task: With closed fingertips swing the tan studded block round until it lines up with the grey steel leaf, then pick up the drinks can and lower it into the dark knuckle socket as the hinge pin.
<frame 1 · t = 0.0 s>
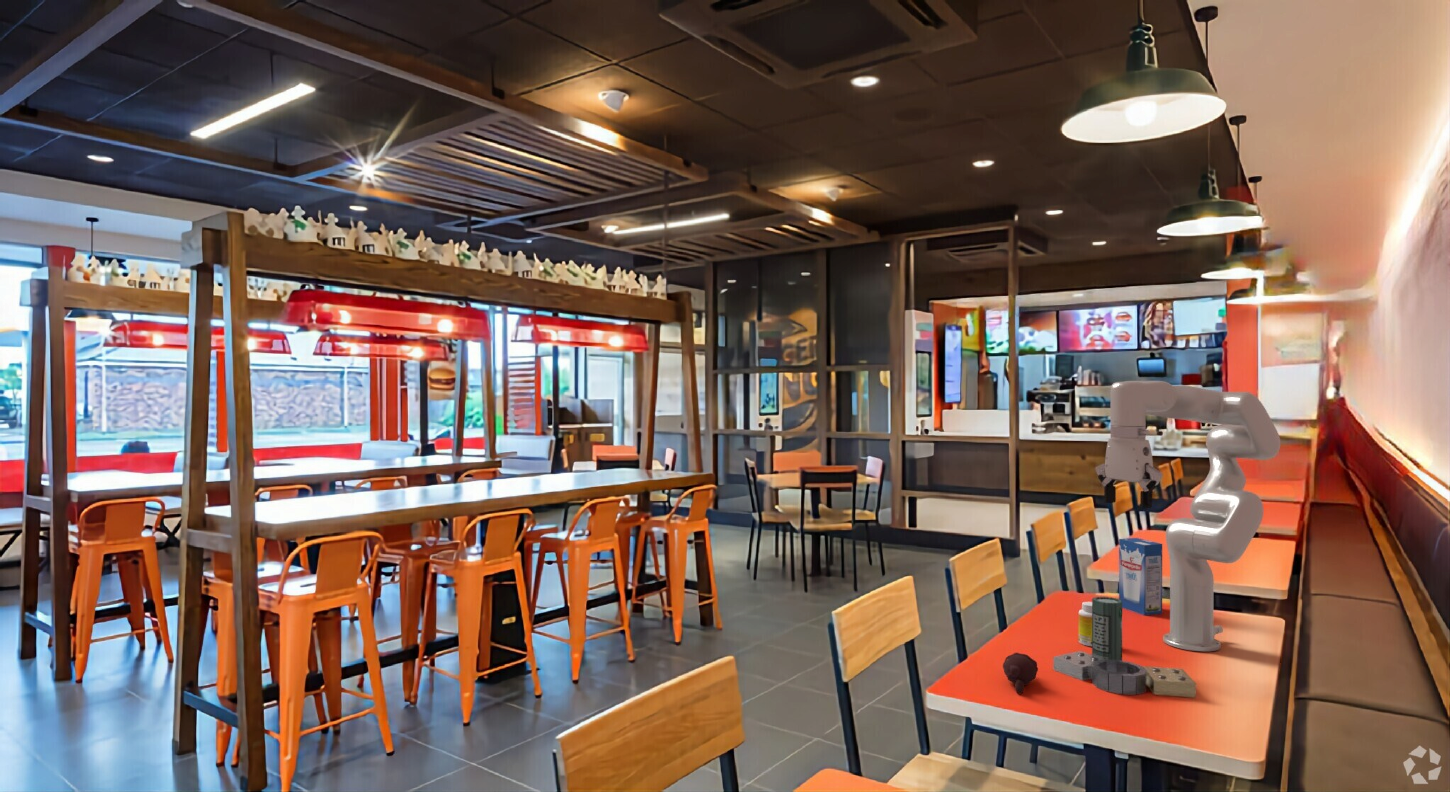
hand: (1127, 505, 197), 37 cm above the table, tool pointing down, fingers open, 9 cm apart
can: (1107, 664, 194), on the table
supplement bottle: (1090, 644, 209), on the table
leaf fixed: (1119, 685, 180), on the table
tan studded block: (1168, 680, 178), point 2 cm above the table, hinge at 50.0°
milk carton: (1140, 610, 240), on the table
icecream: (1019, 684, 182), on the table
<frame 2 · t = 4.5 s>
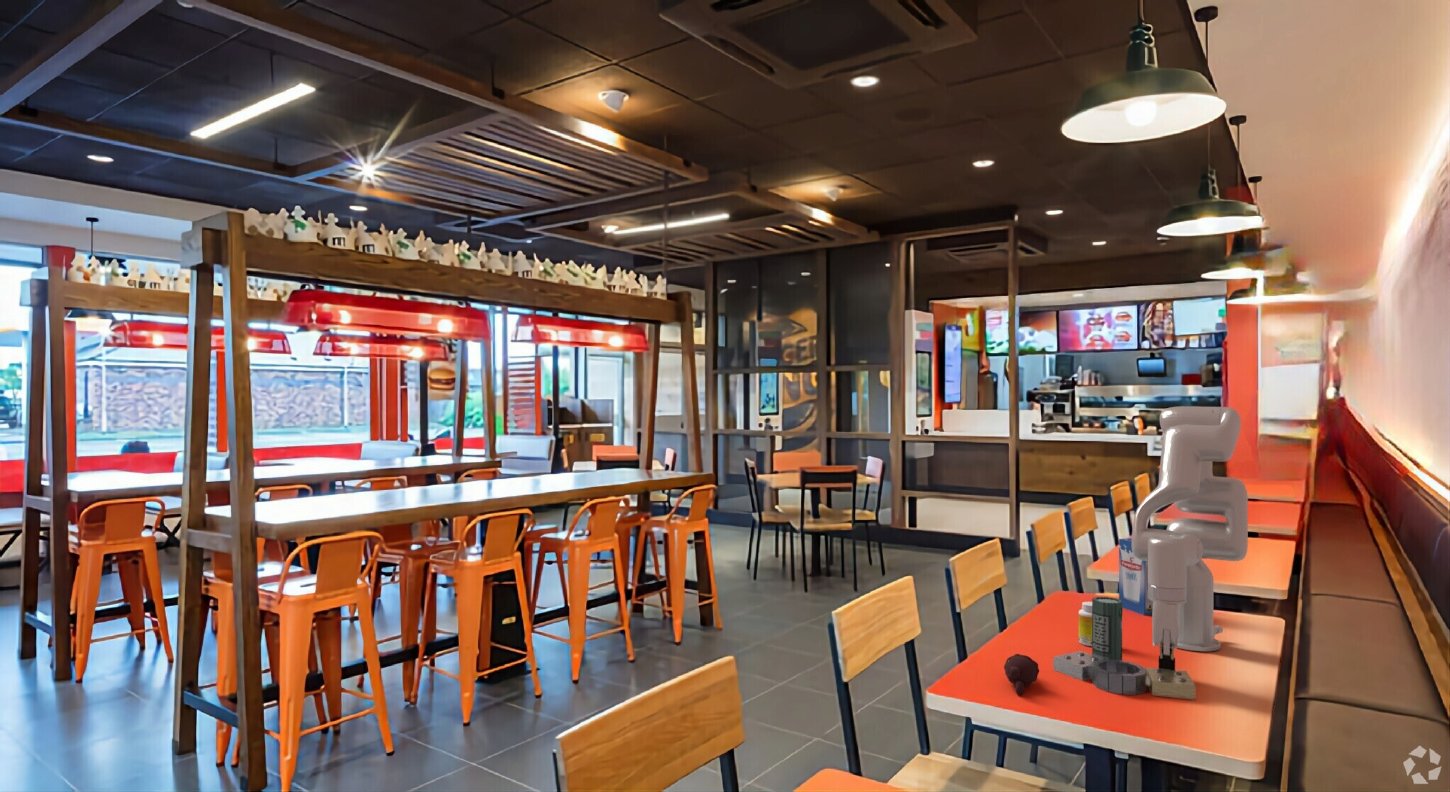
hand: (1166, 675, 183), 1 cm above the table, tool pointing down, fingers closed
tan studded block: (1169, 682, 177), point 2 cm above the table, hinge at 44.5°, touching gripper
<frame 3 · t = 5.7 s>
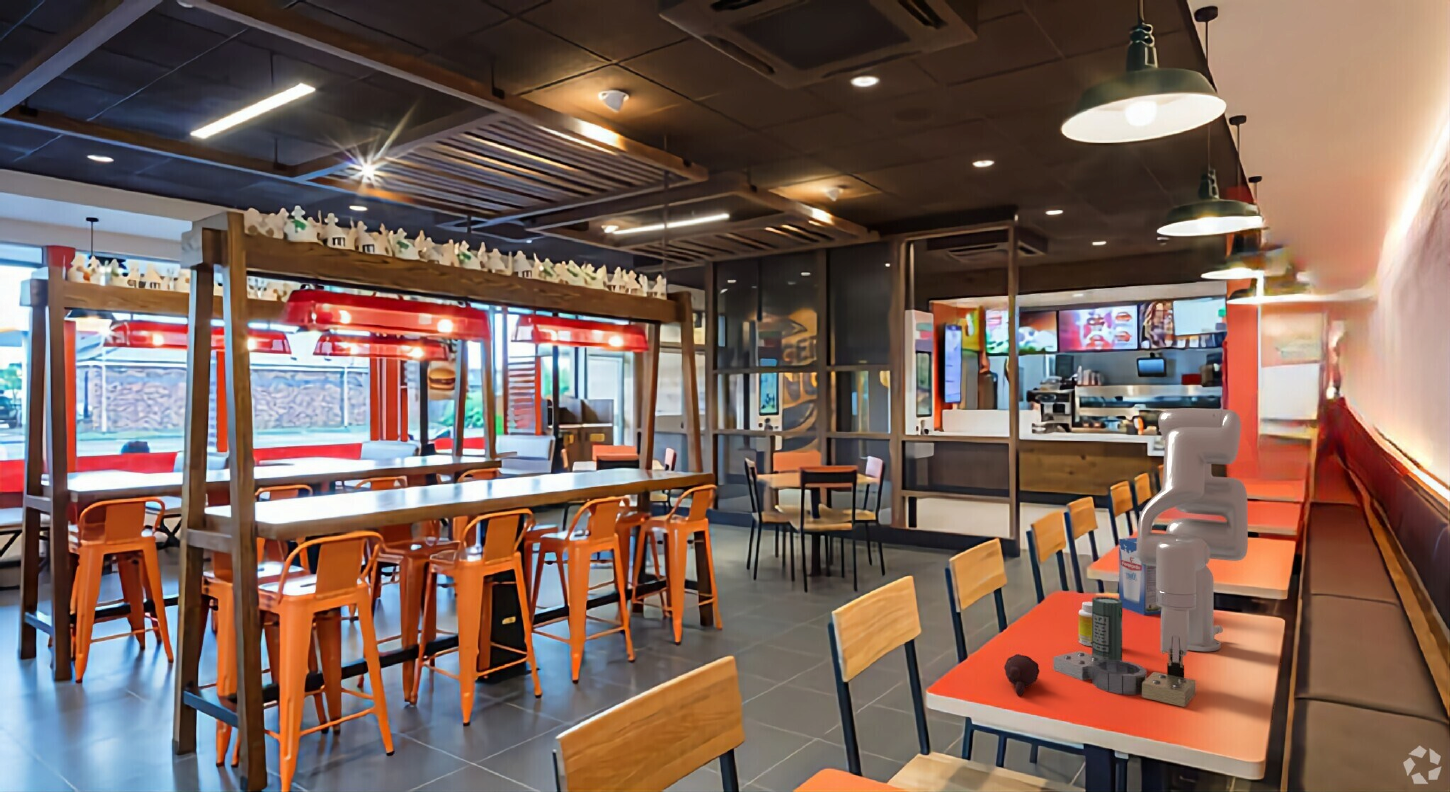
hand: (1175, 683, 179), 1 cm above the table, tool pointing down, fingers closed
tan studded block: (1168, 688, 174), point 2 cm above the table, hinge at 21.7°, touching gripper
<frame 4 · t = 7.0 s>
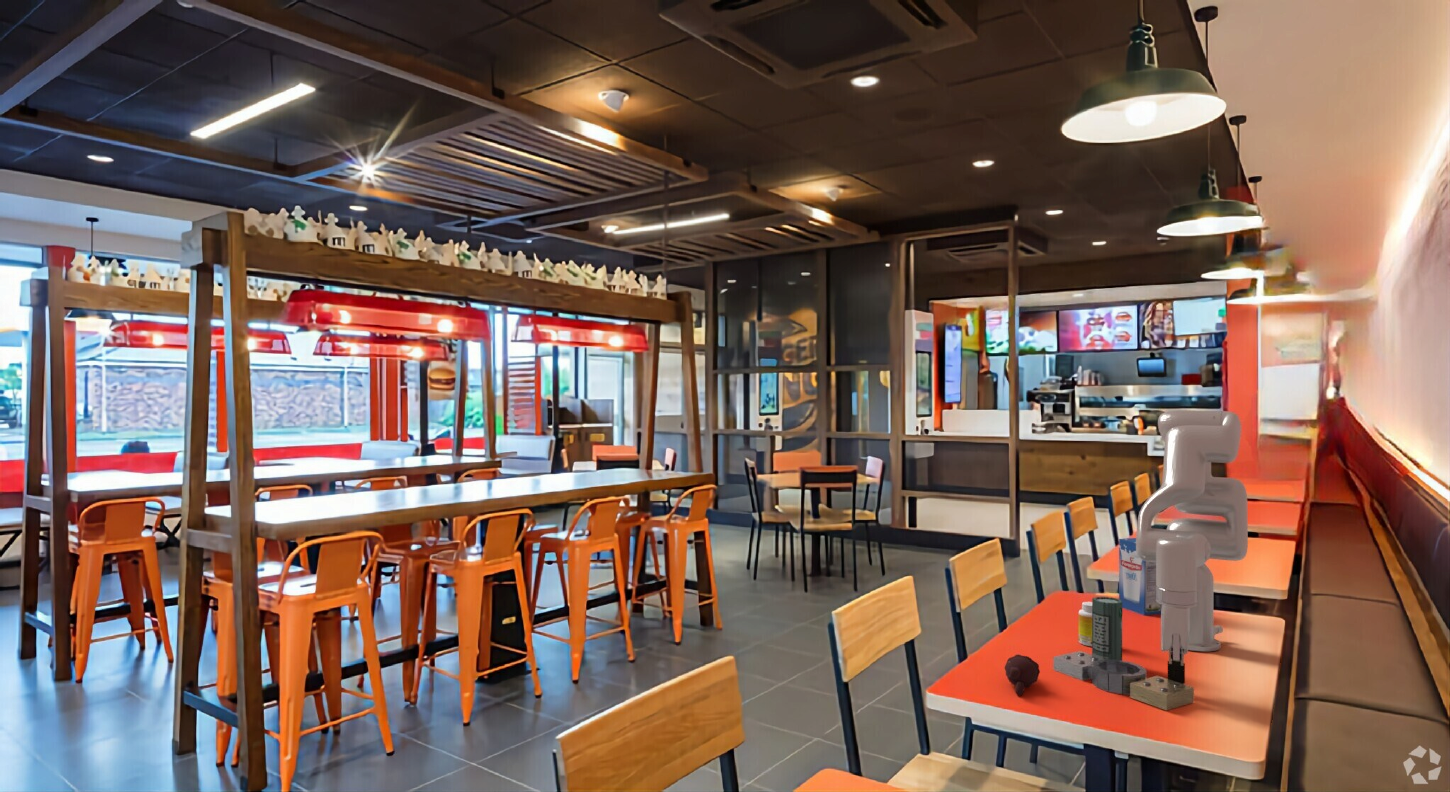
hand: (1176, 681, 176), 2 cm above the table, tool pointing down, fingers closed
tan studded block: (1161, 691, 172), point 2 cm above the table, hinge at 2.1°
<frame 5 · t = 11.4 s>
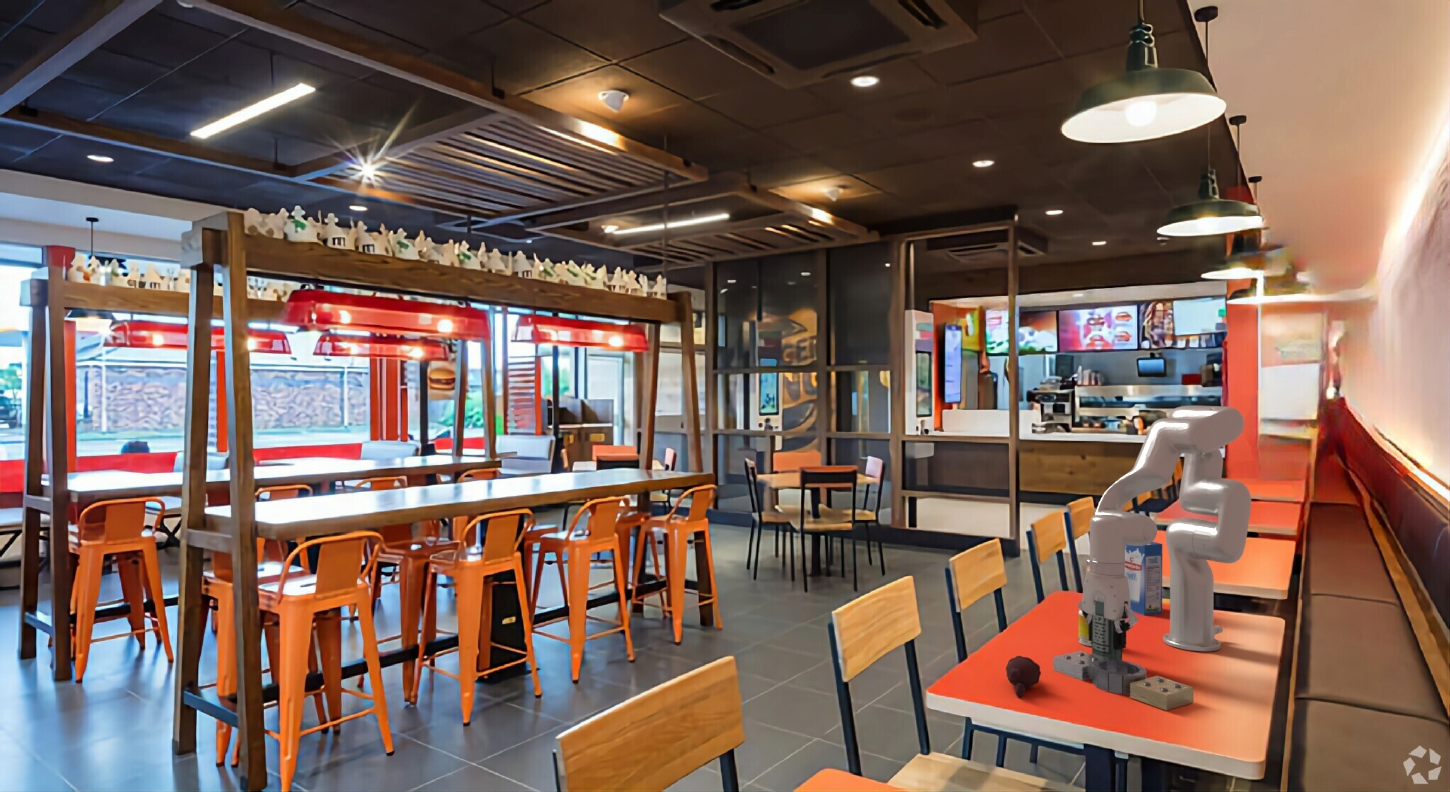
hand: (1107, 643, 194), 5 cm above the table, tool pointing down, fingers closed on can, 6 cm apart
can: (1107, 664, 194), on the table, touching gripper
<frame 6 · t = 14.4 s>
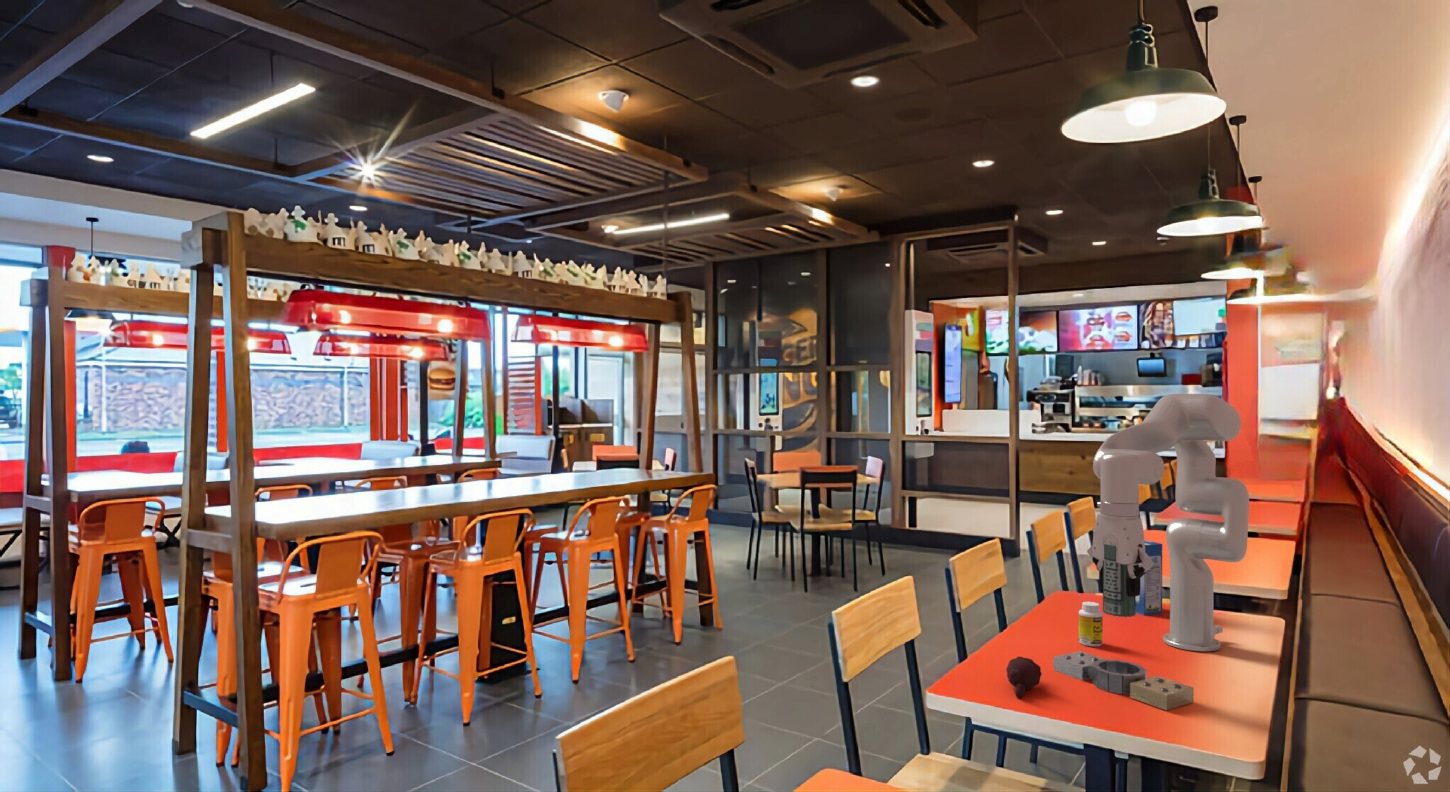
hand: (1119, 591, 180), 21 cm above the table, tool pointing down, fingers closed on can, 6 cm apart
can: (1119, 613, 180), point 16 cm above the table, touching gripper
when the fingers open (6 cm above the table, at t = 17.3 s): can drops 2 cm, resting in leaf fixed.
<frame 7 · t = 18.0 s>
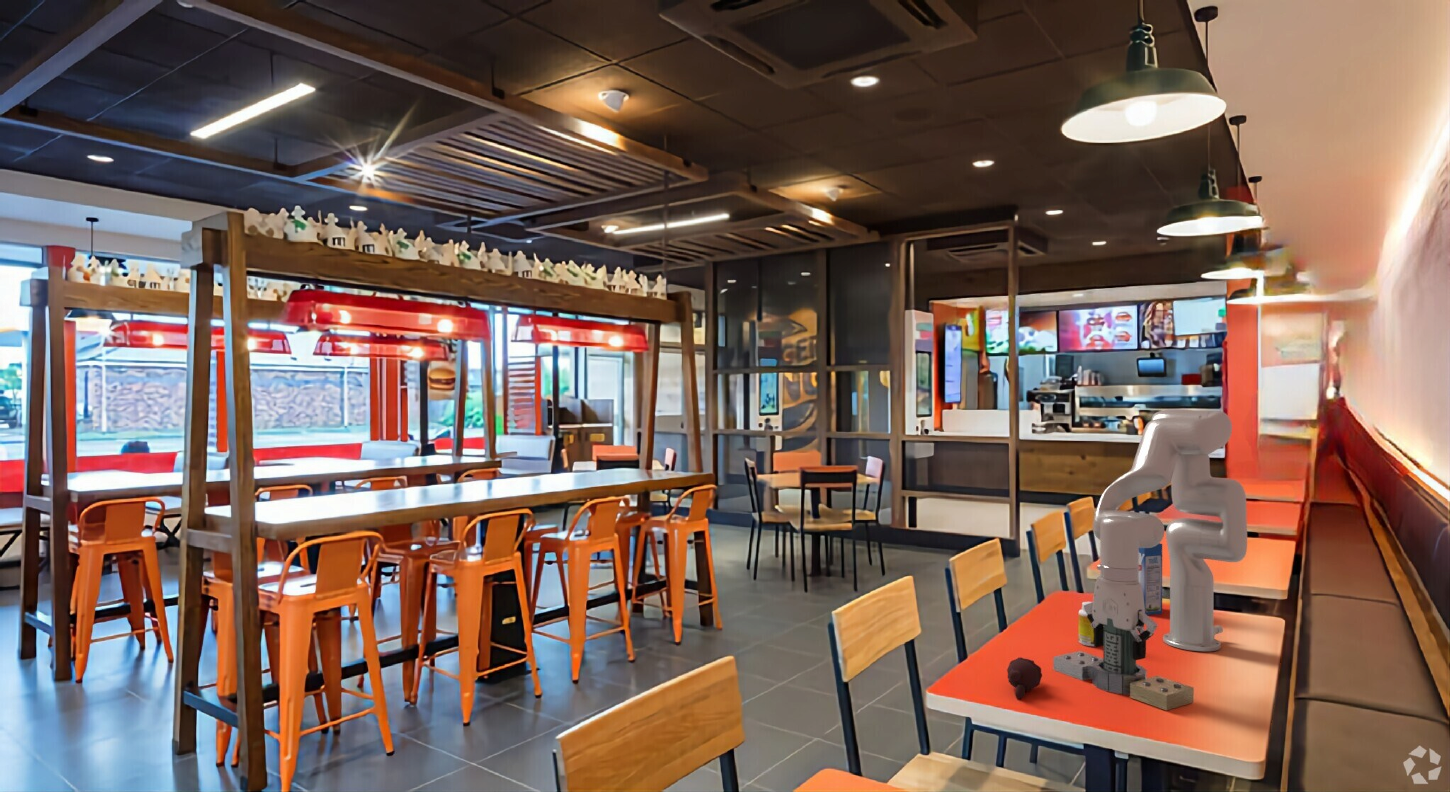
hand: (1119, 652, 180), 7 cm above the table, tool pointing down, fingers open, 9 cm apart
can: (1119, 686, 180), resting in leaf fixed
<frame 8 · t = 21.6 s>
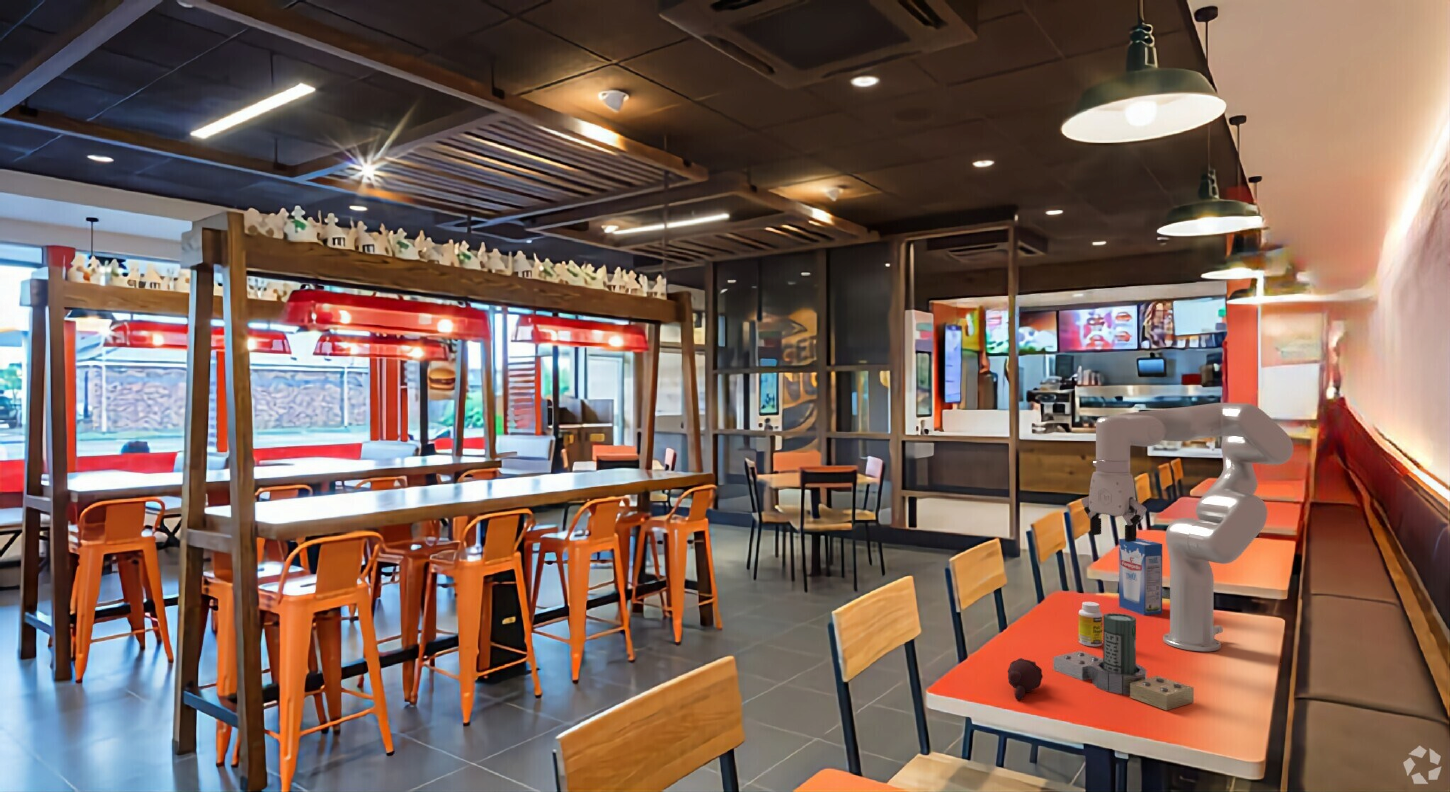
hand: (1112, 537, 201), 28 cm above the table, tool pointing down, fingers open, 9 cm apart
at the end: tan studded block at +2° (first picture: +50°); can 0.2 cm from the leaf fixed (horizontally); can tilted 0° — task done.
